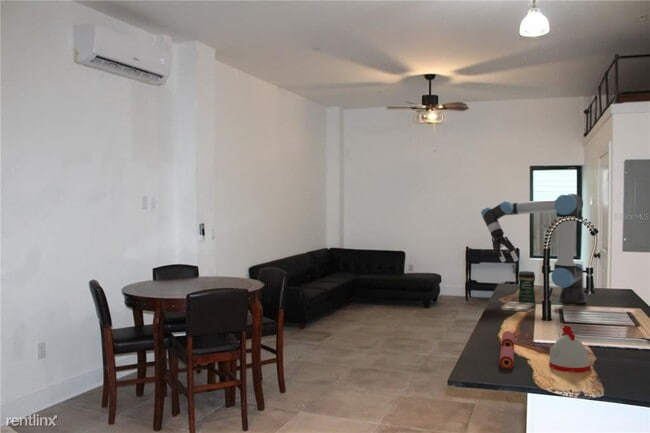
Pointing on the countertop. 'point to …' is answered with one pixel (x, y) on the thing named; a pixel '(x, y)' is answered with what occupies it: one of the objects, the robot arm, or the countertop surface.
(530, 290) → the coffee jar
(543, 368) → the countertop surface
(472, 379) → the countertop surface
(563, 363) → the grey hat
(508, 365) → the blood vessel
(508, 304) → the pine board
